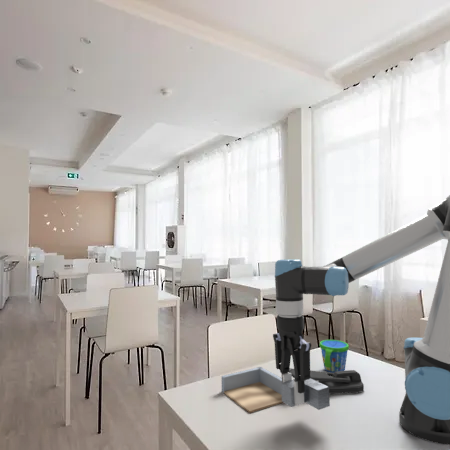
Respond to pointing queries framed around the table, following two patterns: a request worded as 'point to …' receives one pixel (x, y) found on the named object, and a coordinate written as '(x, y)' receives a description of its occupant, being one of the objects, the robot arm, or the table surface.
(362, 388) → the zipper pull
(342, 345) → the snack cup
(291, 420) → the table surface
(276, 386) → the corner walls
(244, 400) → the cork mat
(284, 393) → the angle bracket
